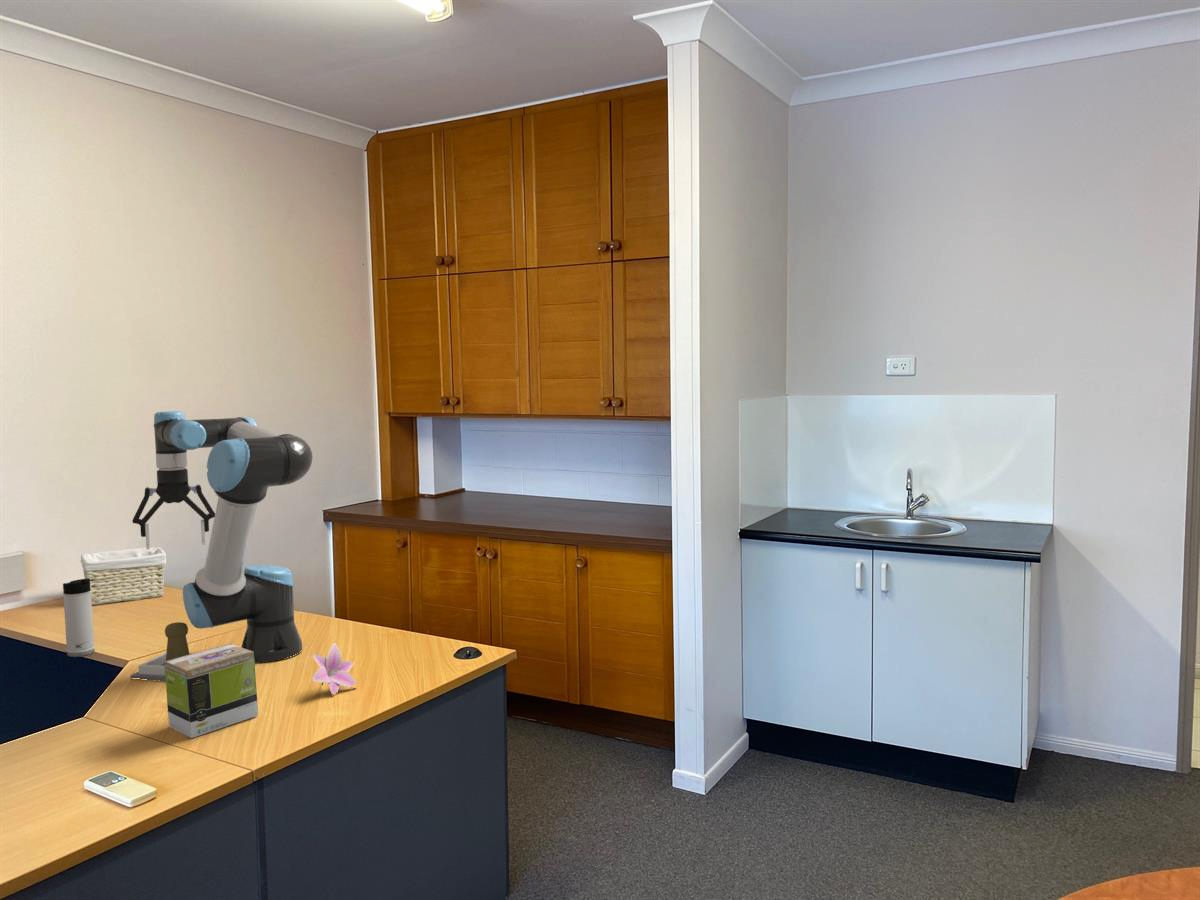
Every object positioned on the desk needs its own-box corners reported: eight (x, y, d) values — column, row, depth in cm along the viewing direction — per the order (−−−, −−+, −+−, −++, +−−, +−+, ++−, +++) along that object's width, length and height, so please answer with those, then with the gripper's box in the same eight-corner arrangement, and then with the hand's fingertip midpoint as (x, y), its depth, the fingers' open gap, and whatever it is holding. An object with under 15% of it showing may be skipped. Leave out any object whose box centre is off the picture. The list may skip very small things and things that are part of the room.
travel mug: (83, 658, 231) (78, 582, 229) (61, 656, 232) (56, 581, 230) (101, 650, 237) (96, 576, 235) (79, 648, 238) (75, 575, 236)
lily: (303, 706, 200) (320, 672, 198) (294, 672, 209) (309, 639, 207) (353, 710, 207) (369, 678, 205) (342, 677, 216) (357, 645, 214)
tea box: (235, 706, 198) (232, 641, 196) (259, 717, 191) (256, 650, 190) (167, 727, 186) (163, 659, 185) (190, 740, 180) (186, 669, 178)
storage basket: (162, 587, 305) (160, 544, 304) (169, 597, 292) (167, 553, 290) (82, 597, 292) (79, 553, 291) (85, 608, 279) (83, 562, 277)
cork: (196, 662, 224) (193, 619, 223) (185, 670, 218) (183, 626, 217) (171, 662, 224) (169, 620, 222) (160, 671, 218) (158, 627, 216)
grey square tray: (211, 664, 225) (211, 652, 225) (179, 682, 212) (178, 670, 212) (165, 661, 227) (165, 650, 227) (130, 679, 215) (130, 667, 214)
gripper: (221, 464, 248) (225, 539, 250) (120, 469, 237) (124, 547, 239) (223, 467, 241) (226, 544, 243) (119, 472, 230) (123, 553, 232)
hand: (176, 546), depth 241 cm, fingers open, 13 cm apart
